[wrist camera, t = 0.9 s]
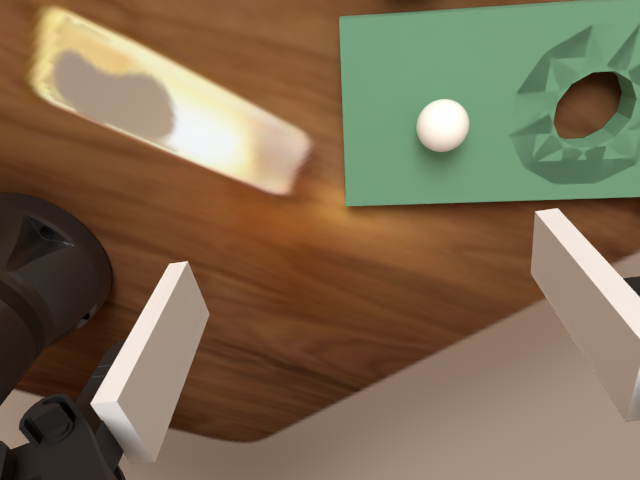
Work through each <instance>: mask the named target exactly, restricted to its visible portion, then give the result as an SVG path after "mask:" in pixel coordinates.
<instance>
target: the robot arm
mask: <svg viewBox="0 0 640 480" xmlns="http://www.w3.org/2000/svg"><path fill="white" fill-rule="evenodd" d="M531 275H532V276H533V278H534V279H535V281H536V282H537V284H538V286H539V287H540V289H541V290H542V292H543V293H544V295H545V297H546V298H547V300H548V301H549V303H550V304H551V306H552V307H553V309H554V311H555V312H556V314H557V315H558V317H559V318H560V320H561V322H562V323H563V325H564V326H565V328H566V329H567V331H568V332H569V334H570V336H571V337H572V338H573V340H574V342H575V343H576V345H577V347H578V348H579V350H580V351H581V353H582V354H583V356H584V358H585V359H586V361H587V362H588V364H589V365H590V367H591V368H592V370H593V371H594V373H595V375H596V376H597V378H598V379H599V381H600V383H601V384H602V386H603V387H604V389H605V390H606V392H607V393H608V395H609V396H610V398H611V400H612V401H613V403H614V404H615V406H616V408H617V409H618V411H619V412H620V414H621V415H622V417H623V419H624V420H625V422H629V421H640V276H639V277H631V278H622V277H621V276H620V275H619V274H618V273H617V272H616V271H615V270H614V269H613V268H612V267H611V265H610V264H609V263H608V262H607V261H606V260H605V259H604V258H603V257H602V256H601V255H600V254H599V253H598V251H597V250H596V249H595V248H594V247H593V246H592V245H591V244H590V243H589V242H588V241H587V240H586V238H585V237H584V236H583V235H582V234H581V233H580V232H579V231H578V230H577V229H576V228H575V227H574V226H573V224H572V223H571V222H570V221H569V220H568V219H567V218H566V217H565V216H564V215H563V214H562V213H561V211H560V210H559V209H558V208H556V209H549V210H542V211H535V220H534V235H533V249H532V263H531ZM111 285H112V273H111V268H110V264H109V261H108V259H107V256H106V254H105V252H104V250H103V249H102V247H101V245H100V244H99V242H98V241H97V240H96V238H95V237H94V236H93V235H92V234H91V232H90V231H89V230H88V229H87V228H86V227H85V226H84V225H82V224H81V223H80V222H79V221H78V220H77V219H75V218H74V217H73V216H71V215H70V214H68V213H67V212H65V211H64V210H62V209H60V208H58V207H56V206H55V205H53V204H50V203H48V202H46V201H43V200H41V199H38V198H35V197H31V196H27V195H22V194H16V193H0V406H1V404H2V403H3V402H4V400H5V399H6V398H7V396H8V395H9V394H10V393H11V391H12V390H13V389H14V387H15V386H16V385H17V383H18V382H19V381H20V380H21V378H22V377H23V376H24V374H25V373H26V372H27V370H28V369H29V368H30V367H31V365H32V364H33V363H34V361H35V360H36V359H37V358H38V356H39V355H40V354H41V353H42V352H43V351H44V350H45V349H47V348H49V347H50V346H52V345H53V344H55V343H56V342H58V341H60V340H61V339H63V338H64V337H66V336H67V335H69V334H71V333H72V332H74V331H75V330H76V329H78V328H80V327H82V326H83V325H85V324H86V323H87V322H89V321H90V320H91V319H92V318H93V317H94V316H95V314H96V313H97V312H98V311H99V309H100V308H101V306H102V305H103V304H104V302H105V301H106V299H107V298H108V296H109V293H110V290H111ZM208 317H209V312H208V310H207V307H206V305H205V302H204V300H203V297H202V295H201V292H200V290H199V288H198V285H197V283H196V280H195V278H194V275H193V273H192V270H191V268H190V266H189V263H188V261H186V262H179V263H172V264H169V266H168V267H167V269H166V271H165V273H164V274H163V276H162V278H161V280H160V281H159V283H158V285H157V287H156V289H155V290H154V292H153V294H152V296H151V297H150V299H149V301H148V303H147V304H146V306H145V308H144V310H143V311H142V313H141V315H140V317H139V319H138V320H137V322H136V324H135V326H134V327H133V329H132V331H131V333H130V334H129V336H128V338H127V340H125V341H117V342H116V343H115V344H114V345H113V346H112V347H111V348H110V349H109V350H108V351H107V352H106V353H105V354H104V356H103V357H102V359H101V361H100V362H99V364H98V365H97V366H98V368H96V369H95V370H94V372H93V374H92V375H91V378H90V379H89V380H88V382H87V384H86V385H85V387H84V389H83V390H82V392H81V394H80V395H79V397H78V399H77V400H76V402H75V404H74V402H73V401H72V399H71V398H70V397H69V396H68V395H67V394H63V393H58V394H53V395H50V396H48V397H45V398H43V399H41V400H40V401H38V402H37V403H36V404H34V405H33V406H32V407H31V408H30V409H29V410H28V411H27V412H26V413H25V414H24V416H23V417H22V419H21V421H20V425H19V429H20V431H21V432H22V433H23V434H24V435H25V437H26V438H27V439H28V440H29V441H30V443H27V444H25V445H22V446H19V447H17V448H14V449H11V450H10V449H9V447H8V446H7V445H6V444H5V443H4V442H2V441H0V480H126V479H125V477H124V475H123V472H122V470H121V469H120V468H119V466H118V463H119V461H120V459H121V457H122V454H123V453H124V454H125V456H126V457H127V459H128V460H129V462H130V463H131V464H140V463H151V462H155V461H156V459H157V456H158V453H159V450H160V448H161V445H162V442H163V440H164V437H165V434H166V431H167V429H168V426H169V423H170V421H171V418H172V415H173V412H174V410H175V407H176V404H177V401H178V399H179V396H180V393H181V391H182V388H183V385H184V382H185V380H186V377H187V374H188V371H189V369H190V366H191V363H192V361H193V358H194V355H195V352H196V350H197V347H198V344H199V342H200V339H201V336H202V333H203V331H204V328H205V325H206V322H207V320H208Z"/></svg>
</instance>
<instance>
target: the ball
mask: <svg viewBox="0 0 640 480" xmlns="http://www.w3.org/2000/svg"><path fill="white" fill-rule="evenodd" d="M416 130H417V135H418V138H419V140H420V141H421V143H422V144H423V145H424V146H425V147H427V148H428V149H430V150H433V151H437V152H446V151H450V150H452V149H454V148H456V147H458V146H459V145H460V144H461V143H462V142H463V141H464V139H465V138H466V136H467V134H468V131H469V117H468V114H467V112H466V110H465V109H464V107H463V106H462V105H460V104H459V103H458V102H456V101H453V100H449V99H439V100H436V101H433V102H431V103H430V104H428V105H427V106H426V107H425V108H424V109H423V110H422V111H421V113H420V114H419V117H418V119H417V124H416Z"/></svg>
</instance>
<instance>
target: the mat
mask: <svg viewBox="0 0 640 480" xmlns="http://www.w3.org/2000/svg"><path fill="white" fill-rule="evenodd" d="M339 28H340V54H341V81H342V108H343V134H344V161H345V188H346V206H371V205H402V204H433V203H465V202H496V201H527V200H558V199H589V198H621V197H640V0H582V1H567V2H552V3H537V4H522V5H507V6H491V7H476V8H461V9H446V10H431V11H416V12H401V13H386V14H371V15H356V16H341V17H340V18H339ZM607 71H611V72H612V73H614V74H616V75H617V78H618V81H619V84H620V88H621V91H622V94H621V98H620V101H619V105H618V108H617V112H616V113H615V114H614V115H613V116H612V118H611V119H610V120H609V121H608V122H607V123H606V125H605V126H604V127H603V128H602V129H600V130H598V131H596V132H594V133H592V134H590V135H588V136H586V137H584V138H576V139H563V138H561V137H559V136H558V134H557V132H556V129H555V127H554V124H553V120H554V116H555V111H556V106H557V102H558V101H559V100H560V99H561V97H562V96H563V95H564V93H565V92H566V91H567V90H568V88H569V87H570V86H571V84H573V83H575V82H576V81H578V80H580V79H582V78H584V77H585V76H587V75H589V74H591V73H593V72H607ZM439 99H449V100H453V101H456V102H458V103H459V104H460V105H462V106H463V107H464V109H465V110H466V112H467V114H468V117H469V131H468V134H467V136H466V138H465V139H464V141H463V142H462V143H461V144H460V145H459V146H458V147H456V148H454V149H452V150H450V151H446V152H437V151H433V150H430V149H428V148H427V147H425V146H424V145H423V144H422V143H421V141H420V140H419V138H418V135H417V130H416V124H417V119H418V117H419V114H420V113H421V111H422V110H423V109H424V108H425V107H426V106H427V105H428V104H430V103H431V102H433V101H436V100H439Z"/></svg>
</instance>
